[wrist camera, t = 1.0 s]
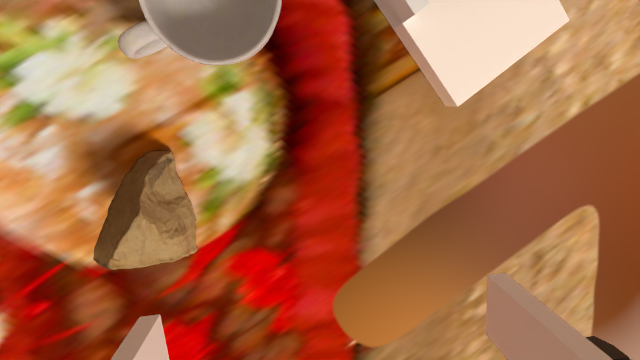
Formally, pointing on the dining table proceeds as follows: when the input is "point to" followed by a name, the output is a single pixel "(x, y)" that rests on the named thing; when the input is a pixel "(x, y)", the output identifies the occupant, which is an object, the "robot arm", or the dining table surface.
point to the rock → (147, 217)
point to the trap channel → (470, 38)
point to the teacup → (202, 29)
